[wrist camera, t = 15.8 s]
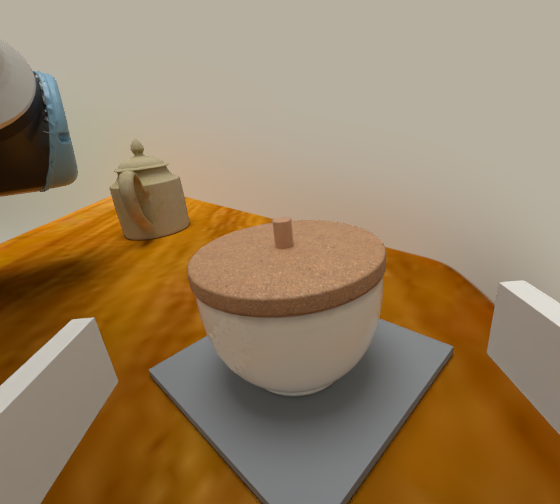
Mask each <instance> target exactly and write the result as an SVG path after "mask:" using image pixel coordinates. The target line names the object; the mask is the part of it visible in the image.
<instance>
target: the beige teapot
mask: <svg viewBox="0 0 560 504" xmlns="http://www.w3.org/2000/svg"><path fill="white" fill-rule="evenodd" d="M143 150H144V148H143V146H142V144H141V143H140V142H139V141H138V140H136V139H134V140H133V141H132V143H131V151H132V152H133V153H134V154H135V156H134V157H132V158H130V159H129V160H127V161H124V162H123V163H121V164H120V165H119V167H118V169H116V170H115V171H114V172H117V173H118V177H117V180H116V182H115V183H114V184H113V185H112V186H110V191H111V195H112V198H113V202H114V205H115V209H116V212H117V215H118V218H119V221H120V224H121V227H122V230H123V233H124V236H125V237H126V238H127V239H131V240H147V239H153V238H159V237H163V236H168V235H171V234H174V233H177V232H179V231H181V230H184V229H185V228H187V227H188V226H189V218H188V212H187V207H186V202H185V197H184V194H183V189H182V185H181V181H180V177H179V176H177V175H174V174H172V173H171V172H169V170H168V169H167V167H166V165H168V163H164V162H163V161H162V160H160V159H158V158H154V157H148V156H144V155H143Z"/></svg>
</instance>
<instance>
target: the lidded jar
mask: <svg viewBox="0 0 560 504" xmlns="http://www.w3.org/2000/svg"><path fill="white" fill-rule="evenodd" d="M385 269H386V249H385V246H384V244H383V243H382V242H381V240H380V239H379V238H378V237H377V236H376V235H374V234H372V233H371V232H369V231H367V230H365V229H362V228H359V227H356V226H352V225H348V224H344V223H338V222H330V221H314V220H298V221H291V218H288V217H281V218H276V219H274V220H272V223H269V224H263V225H258V226H253V227H249V228H245V229H242V230H238V231H235V232H232V233H230V234H227V235H224V236H222V237H220V238H217V239H215V240H213V241H212V242H210V243H208V244H206V245H205V246H203V247H202V248H201V249H199V250H198V251H197V252H196V253H195V254H194V255H193V257H192V258H191V260H190V261H189V264H188V268H187V273H188V279H189V283H190V287H191V289H192V291H193V293H194V295H195V298H196V302H197V306H198V310H199V314H200V317H201V321H202V323H203V326H204V328H205V331H206V333H207V335H208V337H209V339H210V341H211V343H212V345H213V347H214V349H215V350H216V352H217V354H218V355H219V357H220V358H221V359H222V360H223V361H224V362H225V364H226V365H227V366H228V367H229V368H230V369H231V370H232V371H233V372H235V373H236V374H237V375H239V376H240V377H241V378H243V379H244V380H246V381H247V382H249V383H251V384H253V385H255V386H258V387H261V388H263V389H265V390H267V391H269V392H271V393H274V394H277V395H282V396H292V397H297V396H306V395H310V394H314V393H317V392H320V391H322V390H324V389H325V388H327V387H329V386H330V385H331V384H333V383H334V382H335V381H336V380H338V379H340V378H341V377H343V376H344V375H345V374H347V373H348V372H349V371H350V370H351V369H352V368H353V367H354V366H355V365H356V364H357V363H358V362H359V361H360V360H361V359H362V357H363V356H364V354H365V353H366V351H367V349H368V347H369V346H370V344H371V342H372V340H373V337H374V334H375V331H376V328H377V325H378V321H379V317H380V312H381V306H382V294H383V275H384V273H385Z"/></svg>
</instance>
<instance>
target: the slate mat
mask: <svg viewBox="0 0 560 504" xmlns="http://www.w3.org/2000/svg"><path fill="white" fill-rule="evenodd" d="M452 354H453V346H451V345H448V344H445V343H443V342H440V341H437V340H435V339H432V338H429V337H427V336H424V335H422V334H419V333H416V332H414V331H411V330H408V329H406V328H403V327H400V326H398V325H395V324H392V323H390V322H387V321H384V320H382V319H379V321H378V325H377V328H376V331H375V334H374V337H373V340H372V342H371V344H370V346H369V347H368V349H367V351H366V353H365V354H364V356H363V357H362V359H361V360H360V361H359V362H358V363H357V364H356V365H355V366H354V367H353V368H352V369H351V370H350V371H349V372H348V373H347V374H345V375H344V376H343V377H341V378H340V379H338V380H336V381H335V382H334V383H333V384H331V385H330V386H329V387H327V388H325V389H324V390H322V391H320V392H317V393H314V394H310V395H306V396H297V397H292V396H282V395H277V394H274V393H271V392H269V391H267V390H265V389H263V388H261V387H258V386H255V385H253V384H251V383H249V382H247V381H246V380H244V379H243V378H241V377H240V376H239V375H237V374H236V373H235V372H233V371H232V370H231V369H230V368H229V367H228V366H227V365H226V364H225V362H224V361H223V360H222V359H221V358H220V357H219V355H218V354H217V352H216V350H215V349H214V347H213V345H212V343H211V341H210V339H209V337H208V336H206V337H204V338H202V339H201V340H199V341H197V342H196V343H194V344H192V345H190V346H189V347H187V348H185V349H183V350H182V351H180V352H178V353H176V354H175V355H173V356H171V357H170V358H168V359H166V360H164V361H163V362H161V363H159V364H157V365H156V366H154V367H152V368H150V369H149V373H150V376H151V377H152V379H153V380H154V381H155V382H156V383H157V384H158V385H159V387H160V388H161V389H162V390H163V391H164V392H165V393H166V394H167V396H168V397H169V398H170V399H171V400H172V401H173V402H174V404H175V405H176V406H177V407H178V408H179V409H180V410H181V411H182V413H183V414H184V415H185V416H186V417H187V418H188V419H189V421H190V422H191V423H192V424H193V425H194V426H195V427H196V428H197V430H198V431H199V432H200V433H201V434H202V435H203V436H204V438H205V439H206V440H207V441H208V442H209V443H210V444H211V446H212V447H213V448H214V449H215V450H216V451H217V452H218V453H219V455H220V456H221V457H222V458H223V459H224V460H225V461H226V463H227V464H228V465H229V466H230V467H231V468H232V469H233V470H234V472H235V473H236V474H237V475H238V476H239V477H240V478H241V480H242V481H243V482H244V483H245V484H246V485H247V486H248V487H249V489H250V490H251V491H252V492H253V493H254V494H255V495H256V497H257V498H258V499H259V500H260V501H261V502H262V503H263V504H347V503H348V502H349V500H350V499H351V498H352V496H353V495H354V493H355V492H356V490H357V489H358V488H359V486H360V485H361V483H362V482H363V481H364V479H365V478H366V476H367V475H368V473H369V472H370V471H371V469H372V468H373V466H374V465H375V464H376V462H377V461H378V459H379V458H380V456H381V455H382V454H383V452H384V451H385V449H386V448H387V447H388V445H389V444H390V442H391V441H392V439H393V438H394V437H395V435H396V434H397V432H398V431H399V430H400V428H401V427H402V425H403V424H404V422H405V421H406V420H407V418H408V417H409V415H410V414H411V413H412V411H413V410H414V408H415V407H416V405H417V404H418V403H419V401H420V400H421V398H422V397H423V395H424V394H425V393H426V391H427V390H428V388H429V387H430V386H431V384H432V383H433V381H434V380H435V378H436V377H437V376H438V374H439V373H440V371H441V370H442V369H443V367H444V366H445V364H446V363H447V361H448V360H449V359H450V357H451V356H452Z"/></svg>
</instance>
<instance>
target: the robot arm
mask: <svg viewBox="0 0 560 504" xmlns="http://www.w3.org/2000/svg"><path fill="white" fill-rule="evenodd" d="M77 174H78V171H77V164H76V160H75V155H74V151H73V147H72V142H71V138H70V135H69V130H68V125H67V120H66V116H65V112H64V108H63V105H62V100H61V96H60V93H59V89H58V85H57V82H56V80H55V78H54V77H53V76H51V75H50V74H46V73H41V72H39V71H32V69H31V68H30V66H29V64H28V63H27V62H26V60H25V58H24V57H23V56H22V55H21V54H20V53H19V52H18V51H16V50H15V49H14V48H13V47H11V46H10V45H8V44H7V43H5V42H3V41H1V40H0V197H1V196H8V195H15V194H23V193H30V192H37V191H40V192H45V191H47V190H48V189H50V188H56V187H61V186H66V185H69V184H71V183H73V182H74V181H75V180H76V178H77ZM487 354H488V355H489V356H490V357H491V358H492V360H493V361H494V362H495V363H496V364H497V365H498V366H499V367H500V369H501V370H502V371H503V372H504V373H505V374H506V375H507V376H508V378H509V379H510V380H511V381H512V382H513V383H514V384H515V385H516V386H517V388H518V389H519V390H520V391H521V392H522V393H523V394H524V395H525V397H526V398H527V399H528V400H529V401H530V402H531V403H532V404H533V405H534V407H535V408H536V409H537V410H538V411H539V412H540V413H541V414H542V416H543V417H544V418H545V419H546V420H547V421H548V422H549V423H550V425H551V426H552V427H553V428H554V429H555V430H556V431H557V432H558V433H559V435H560V303H558V302H557V301H555V300H554V299H552V298H551V297H549V296H548V295H546V294H544V293H543V292H541V291H539V290H538V289H537V288H535V287H534V286H532V285H530V284H529V283H527V282H526V281H524V280H521V281H510V282H500V283H499V284H498V290H497V296H496V302H495V308H494V314H493V320H492V325H491V331H490V337H489V343H488V349H487ZM117 383H118V379H117V376H116V374H115V371H114V368H113V366H112V363H111V360H110V358H109V355H108V352H107V350H106V347H105V344H104V342H103V339H102V337H101V334H100V331H99V329H98V326H97V323H96V321H95V318H83V319H72V320H71V321H70V322H69V323H68V324H67V325H66V326H65V327H63V328H62V329H61V330H60V331H59V332H58V333H57V334H56V335H55V336H54V337H53V338H52V339H50V340H49V341H48V342H47V343H46V344H45V345H44V346H43V347H42V348H41V349H40V350H39V351H37V352H36V353H35V354H34V355H33V356H32V357H31V358H30V359H29V360H28V361H27V362H26V363H25V364H23V365H22V366H21V367H20V368H19V369H18V370H17V371H16V372H15V373H14V374H13V375H12V376H10V377H9V378H8V379H7V380H6V381H5V382H4V383H3V384H2V385H1V386H0V504H40V503H41V502H42V500H43V499H44V497H45V496H46V494H47V493H48V491H49V489H50V488H51V486H52V485H53V483H54V482H55V480H56V478H57V477H58V475H59V474H60V472H61V471H62V469H63V467H64V466H65V464H66V463H67V461H68V460H69V458H70V457H71V455H72V453H73V452H74V450H75V449H76V447H77V446H78V444H79V442H80V441H81V439H82V438H83V436H84V435H85V433H86V432H87V430H88V428H89V427H90V425H91V424H92V422H93V421H94V419H95V417H96V416H97V414H98V413H99V411H100V410H101V408H102V406H103V405H104V403H105V402H106V400H107V399H108V397H109V396H110V394H111V392H112V391H113V389H114V388H115V386H116V385H117Z"/></svg>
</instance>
